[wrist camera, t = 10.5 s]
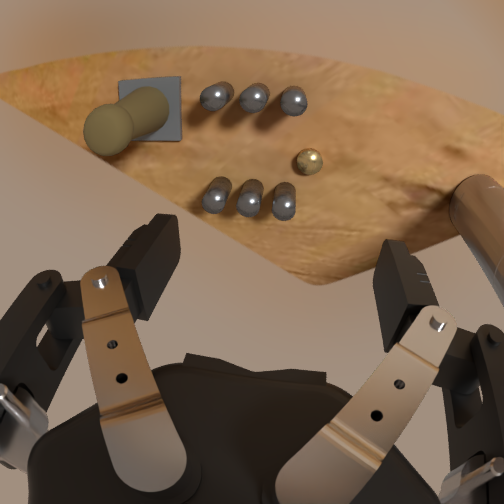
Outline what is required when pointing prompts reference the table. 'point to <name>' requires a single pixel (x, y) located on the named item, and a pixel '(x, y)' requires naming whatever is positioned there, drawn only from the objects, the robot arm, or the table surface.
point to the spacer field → (252, 189)
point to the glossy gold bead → (309, 161)
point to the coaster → (173, 95)
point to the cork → (125, 120)
